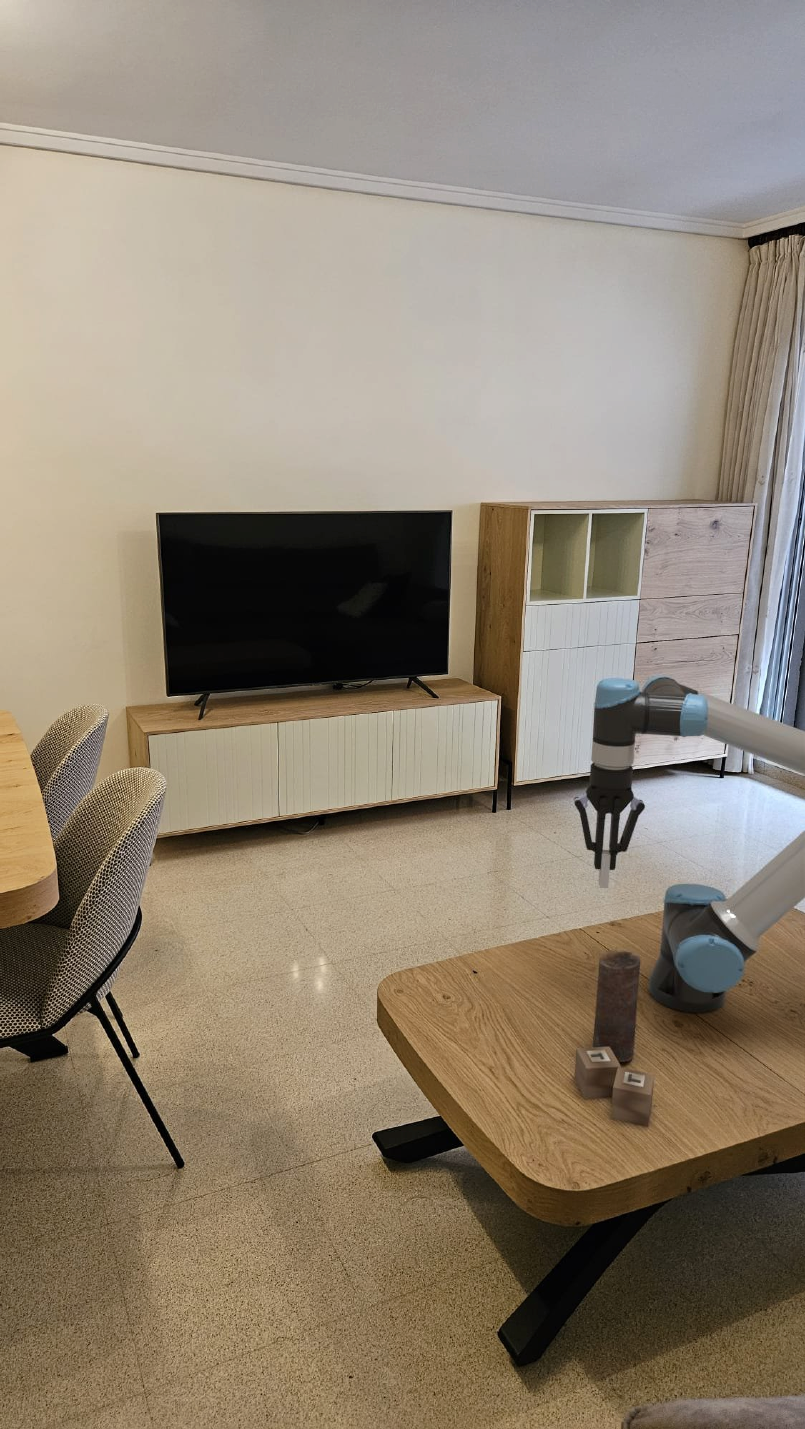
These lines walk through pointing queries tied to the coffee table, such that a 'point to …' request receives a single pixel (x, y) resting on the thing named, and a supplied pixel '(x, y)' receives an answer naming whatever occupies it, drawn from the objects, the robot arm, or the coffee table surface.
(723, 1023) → the coffee table surface
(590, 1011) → the coffee table surface
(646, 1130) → the coffee table surface
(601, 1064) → the block two
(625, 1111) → the block seven
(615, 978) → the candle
